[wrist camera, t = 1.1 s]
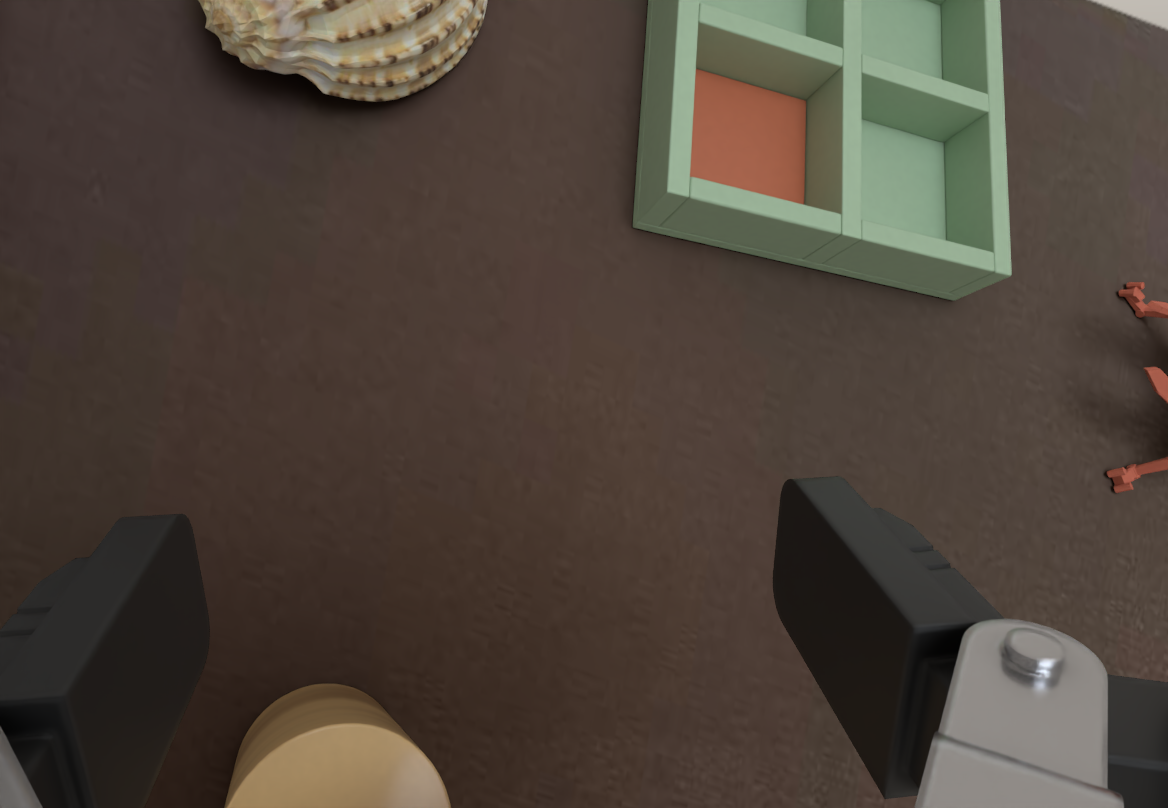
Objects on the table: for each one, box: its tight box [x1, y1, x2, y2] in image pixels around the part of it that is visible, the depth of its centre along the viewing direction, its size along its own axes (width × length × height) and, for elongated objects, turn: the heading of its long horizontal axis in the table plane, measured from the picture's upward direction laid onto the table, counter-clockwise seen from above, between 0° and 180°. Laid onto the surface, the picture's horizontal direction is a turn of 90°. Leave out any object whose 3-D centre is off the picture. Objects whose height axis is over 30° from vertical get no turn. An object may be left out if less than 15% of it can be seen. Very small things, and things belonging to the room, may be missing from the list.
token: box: [224, 683, 451, 808], centre depth 20 cm, size 4×4×8 cm
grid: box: [633, 0, 1012, 301], centre depth 33 cm, size 14×14×3 cm
